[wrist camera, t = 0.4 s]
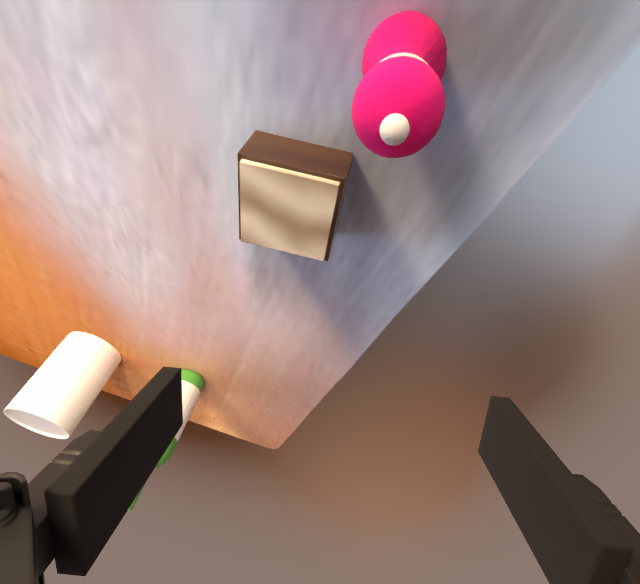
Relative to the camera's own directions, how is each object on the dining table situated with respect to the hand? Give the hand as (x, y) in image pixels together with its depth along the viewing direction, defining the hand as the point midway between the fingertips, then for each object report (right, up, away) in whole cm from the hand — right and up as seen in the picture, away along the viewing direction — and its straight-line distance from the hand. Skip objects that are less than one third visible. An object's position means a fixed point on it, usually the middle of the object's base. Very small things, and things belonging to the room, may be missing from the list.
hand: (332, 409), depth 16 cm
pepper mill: (+8, +28, +20) cm, 35 cm away
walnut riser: (-3, +19, +32) cm, 37 cm away
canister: (-57, -9, +76) cm, 96 cm away
